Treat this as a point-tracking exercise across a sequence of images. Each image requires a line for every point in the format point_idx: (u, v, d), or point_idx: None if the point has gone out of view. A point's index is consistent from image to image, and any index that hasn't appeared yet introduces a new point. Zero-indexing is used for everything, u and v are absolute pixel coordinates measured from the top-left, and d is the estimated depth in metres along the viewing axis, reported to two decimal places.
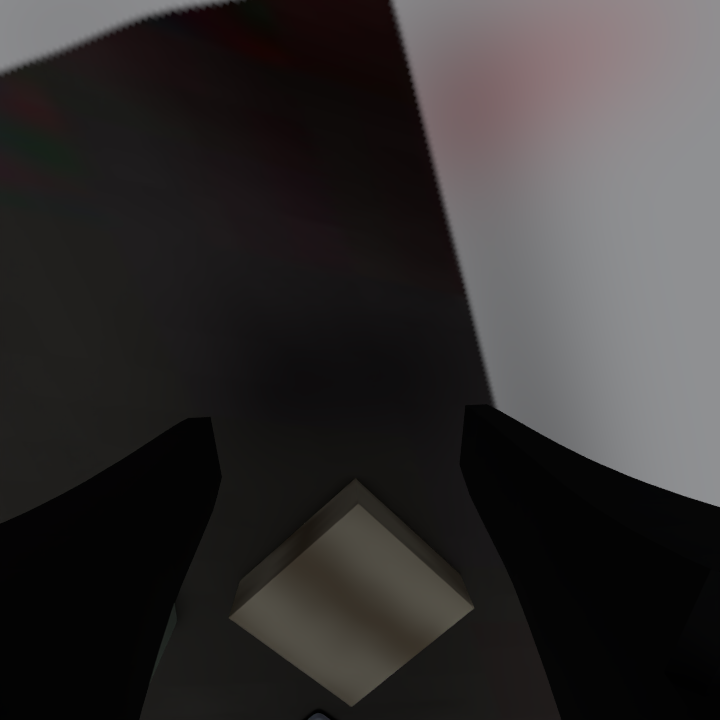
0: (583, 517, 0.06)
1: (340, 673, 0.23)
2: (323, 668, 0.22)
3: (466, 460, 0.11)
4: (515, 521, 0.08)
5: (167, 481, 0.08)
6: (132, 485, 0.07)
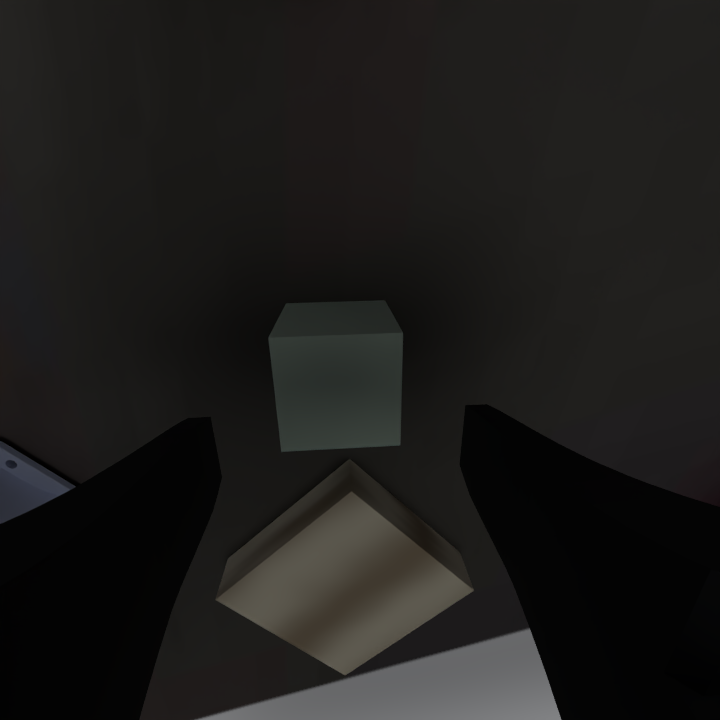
0: (583, 517, 0.06)
1: (265, 588, 0.20)
2: (273, 573, 0.20)
3: (466, 460, 0.11)
4: (515, 521, 0.08)
5: (167, 481, 0.08)
6: (132, 485, 0.07)
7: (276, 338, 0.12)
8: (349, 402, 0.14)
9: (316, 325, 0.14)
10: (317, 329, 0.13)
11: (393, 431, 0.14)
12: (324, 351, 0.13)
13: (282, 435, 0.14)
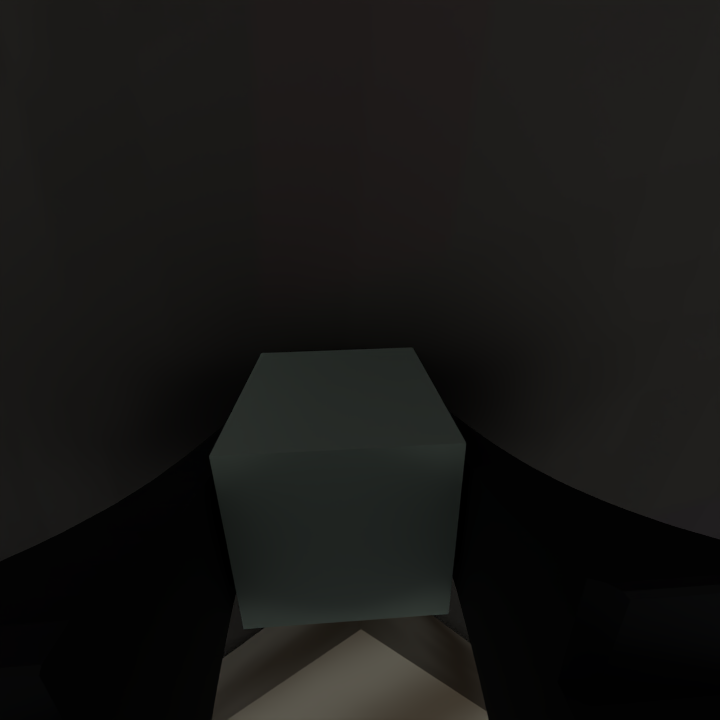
0: (502, 522, 0.06)
1: None
2: None
3: None
4: None
5: None
6: (205, 481, 0.07)
7: (224, 457, 0.06)
8: (363, 555, 0.08)
9: (303, 417, 0.08)
10: (304, 429, 0.07)
11: (438, 594, 0.08)
12: (317, 477, 0.07)
13: (244, 606, 0.08)
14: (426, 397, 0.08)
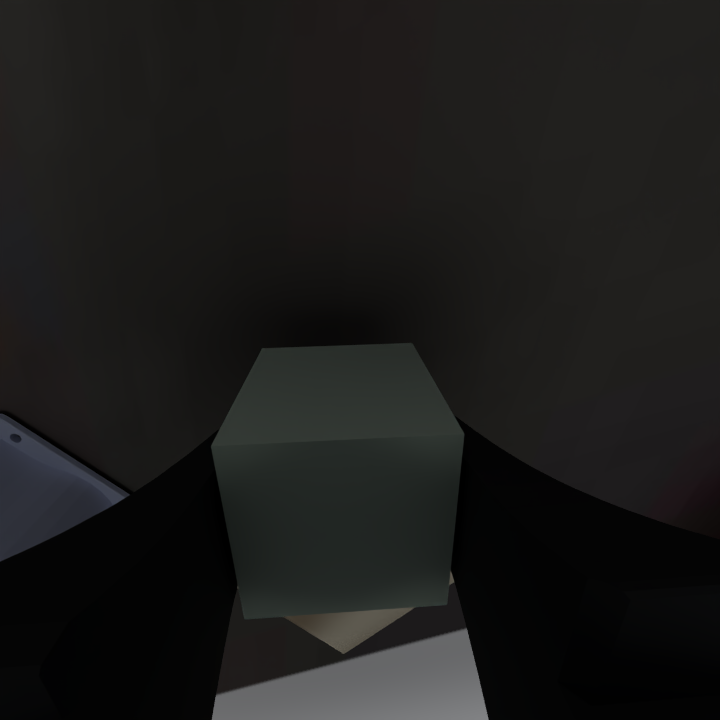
0: (502, 522, 0.06)
1: None
2: None
3: None
4: (456, 525, 0.08)
5: None
6: (204, 481, 0.07)
7: (226, 447, 0.07)
8: (363, 545, 0.08)
9: (303, 410, 0.08)
10: (304, 420, 0.07)
11: (436, 585, 0.08)
12: (317, 467, 0.07)
13: (245, 597, 0.08)
14: (425, 390, 0.08)
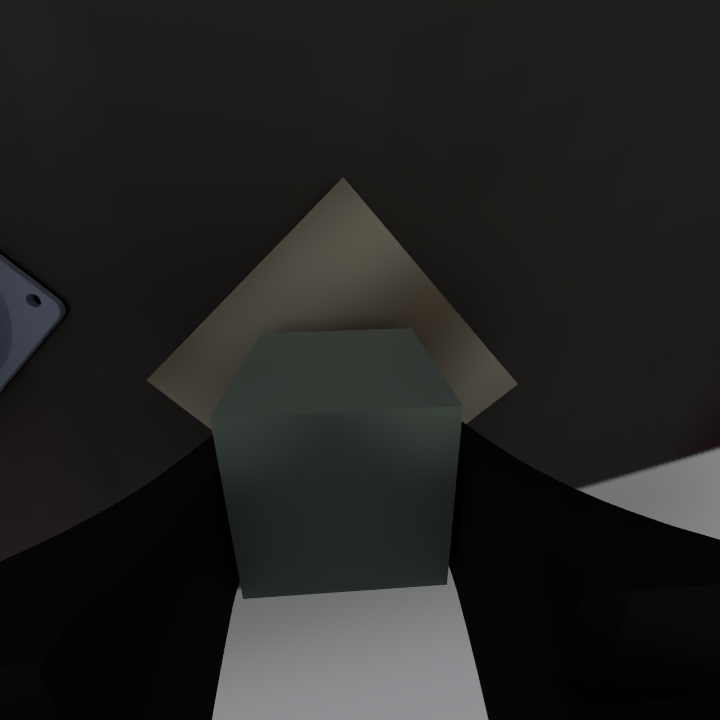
0: (502, 522, 0.06)
1: (218, 362, 0.14)
2: (228, 336, 0.13)
3: None
4: (456, 525, 0.08)
5: None
6: (204, 481, 0.07)
7: (225, 418, 0.07)
8: (362, 521, 0.08)
9: (302, 385, 0.08)
10: (303, 395, 0.07)
11: (436, 564, 0.08)
12: (315, 439, 0.07)
13: (243, 575, 0.08)
14: (424, 369, 0.09)
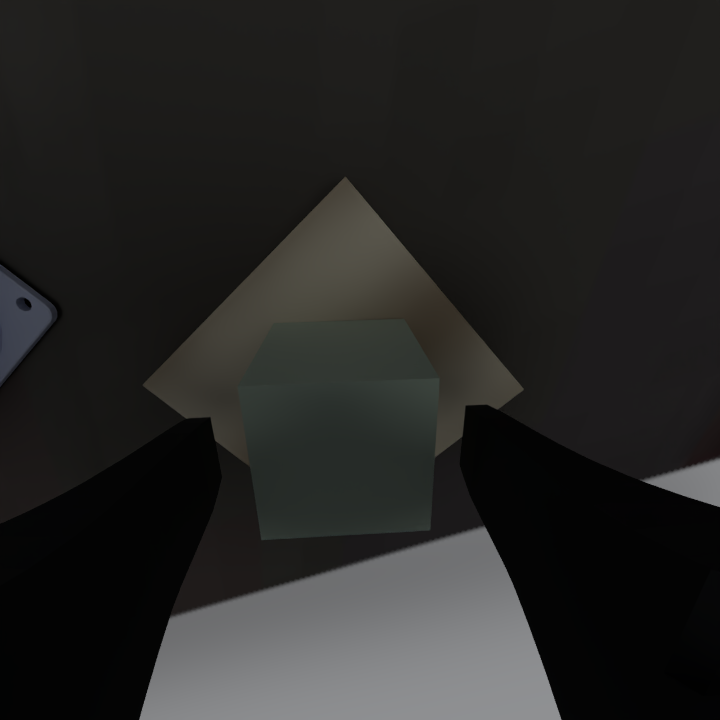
0: (583, 517, 0.06)
1: (216, 367, 0.13)
2: (227, 340, 0.13)
3: (466, 460, 0.11)
4: (515, 521, 0.08)
5: (167, 481, 0.08)
6: (132, 485, 0.07)
7: (249, 387, 0.08)
8: (359, 474, 0.09)
9: (310, 363, 0.09)
10: (311, 370, 0.09)
11: (421, 512, 0.10)
12: (321, 405, 0.09)
13: (262, 519, 0.10)
14: (411, 351, 0.10)
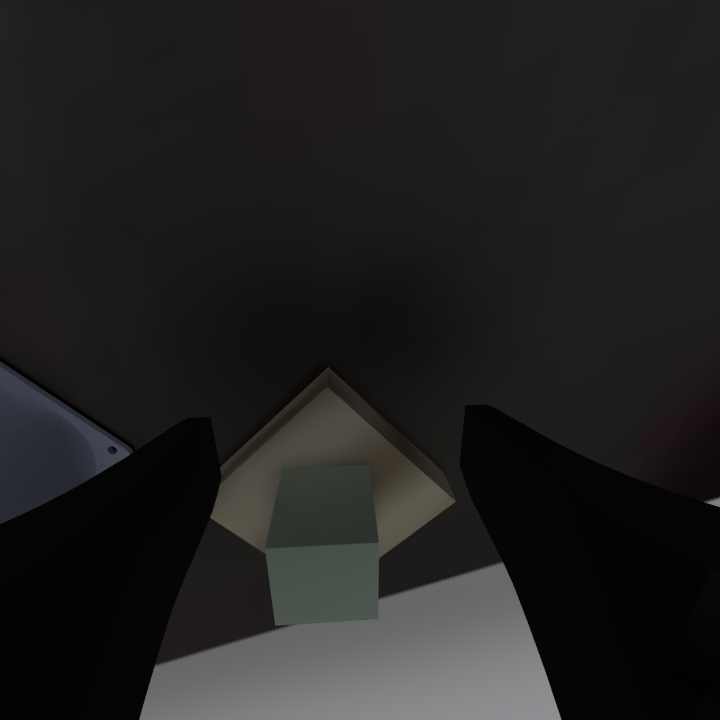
0: (583, 517, 0.06)
1: (244, 495, 0.20)
2: (251, 479, 0.20)
3: (466, 460, 0.11)
4: (515, 521, 0.08)
5: (167, 481, 0.08)
6: (132, 485, 0.07)
7: (271, 549, 0.15)
8: (334, 590, 0.16)
9: (306, 524, 0.16)
10: (306, 532, 0.16)
11: (371, 609, 0.16)
12: (312, 556, 0.15)
13: (276, 614, 0.16)
14: (367, 509, 0.17)
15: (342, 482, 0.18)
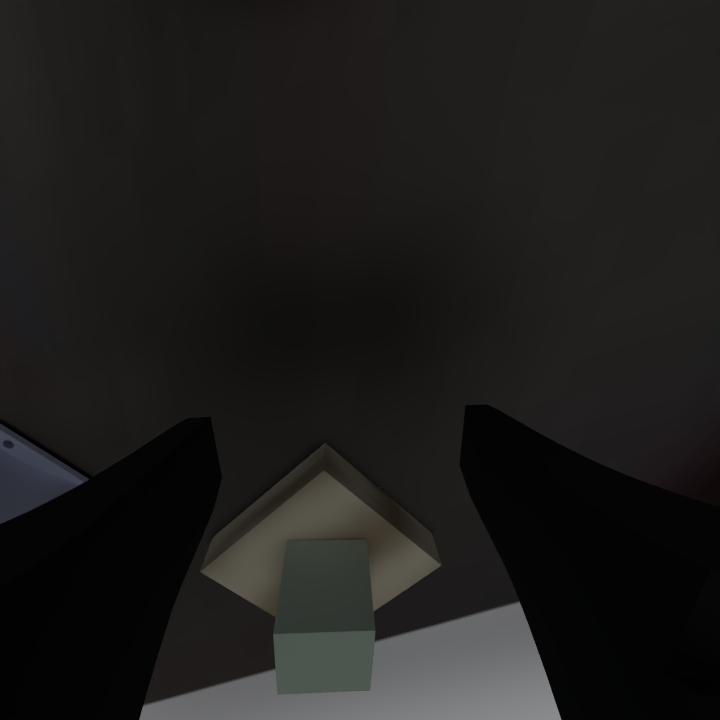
0: (583, 517, 0.06)
1: (246, 561, 0.22)
2: (253, 547, 0.21)
3: (466, 460, 0.11)
4: (515, 521, 0.08)
5: (167, 481, 0.08)
6: (132, 485, 0.07)
7: (279, 634, 0.17)
8: (332, 667, 0.18)
9: (309, 607, 0.18)
10: (310, 616, 0.17)
11: (365, 682, 0.18)
12: (315, 640, 0.17)
13: (279, 685, 0.18)
14: (365, 592, 0.19)
15: (342, 559, 0.20)
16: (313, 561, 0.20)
